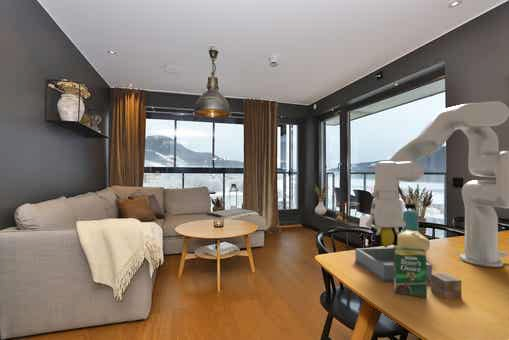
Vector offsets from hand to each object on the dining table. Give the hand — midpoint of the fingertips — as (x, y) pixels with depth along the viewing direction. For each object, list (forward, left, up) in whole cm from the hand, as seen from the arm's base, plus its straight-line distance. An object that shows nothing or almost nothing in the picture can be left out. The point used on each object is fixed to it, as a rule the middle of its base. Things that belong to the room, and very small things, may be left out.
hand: (385, 244), depth 93 cm
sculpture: (-17, -10, -9) cm, 21 cm away
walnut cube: (-5, +20, -8) cm, 23 cm away
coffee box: (+5, +19, -9) cm, 22 cm away
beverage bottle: (-26, -22, -9) cm, 35 cm away
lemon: (0, 0, -1) cm, 1 cm away
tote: (0, +2, -8) cm, 9 cm away
